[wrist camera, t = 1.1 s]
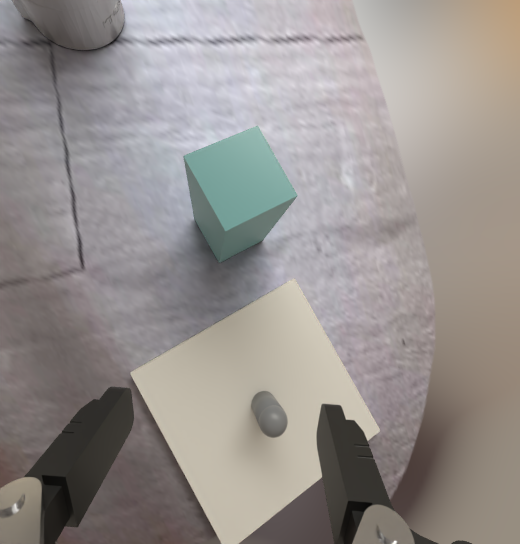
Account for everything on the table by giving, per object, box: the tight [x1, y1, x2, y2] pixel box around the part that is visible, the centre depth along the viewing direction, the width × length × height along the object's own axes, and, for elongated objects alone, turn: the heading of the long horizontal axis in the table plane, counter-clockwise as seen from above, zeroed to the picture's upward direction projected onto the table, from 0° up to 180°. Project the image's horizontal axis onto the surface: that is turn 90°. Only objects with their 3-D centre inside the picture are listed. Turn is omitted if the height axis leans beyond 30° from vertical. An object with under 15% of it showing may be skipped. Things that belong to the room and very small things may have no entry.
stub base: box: [130, 279, 380, 544], centre depth 24 cm, size 18×18×6 cm
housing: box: [184, 126, 297, 263], centre depth 23 cm, size 5×5×12 cm
